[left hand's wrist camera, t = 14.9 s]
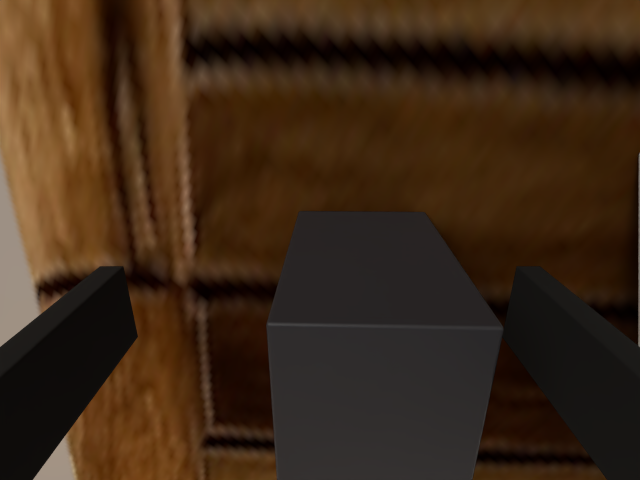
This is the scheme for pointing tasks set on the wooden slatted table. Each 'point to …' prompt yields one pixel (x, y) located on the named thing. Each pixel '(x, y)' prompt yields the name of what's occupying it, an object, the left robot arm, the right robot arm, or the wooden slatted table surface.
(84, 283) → the left robot arm
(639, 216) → the handled box
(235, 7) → the wooden slatted table surface
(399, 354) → the charcoal block
